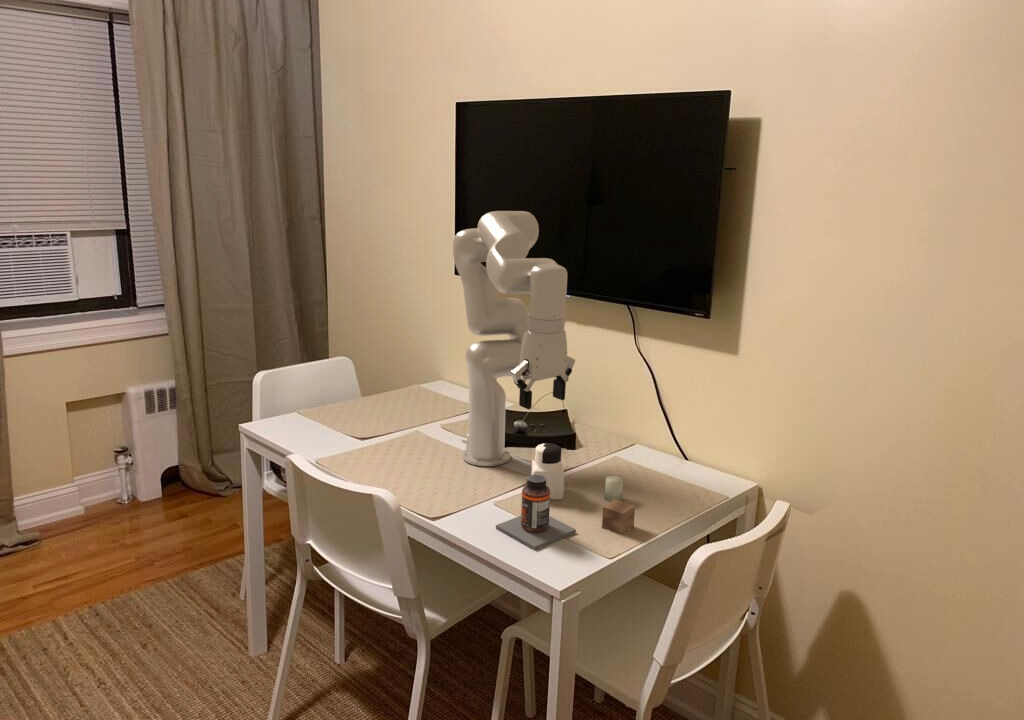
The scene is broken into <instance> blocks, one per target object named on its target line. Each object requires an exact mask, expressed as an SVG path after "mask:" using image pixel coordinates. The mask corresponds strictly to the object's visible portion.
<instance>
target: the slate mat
mask: <svg viewBox="0 0 1024 720" xmlns="http://www.w3.org/2000/svg"><path fill="white" fill-rule="evenodd" d="M495 529H496V530H498V531H499V532H501V533H503V534H504V535H506V536H508V537H509V538H512V539H514V540H515V541H517V542H519V543H520V544H523V545H524V546H526V547H527V548H529V549H531V550H533V551H536V550H538V549H540V548H543V547H546V546H547V545H550V544H552V543H555V542H556V541H559V540H562V539H564V538H566V537H569V536H571V535H574V534H576V531H577V530H576V528H574V527H572V526H570V525H568V524H566V523H564V522H563V521H561V520H558V519H557V518H554V517H552V516H550V515H549V526H548V528H547V529H546V530H545V531H543V532H536V533H535V532H529V531H526V530H525V529H523V528H522V526H521V515H519V516H516V517H512V518H511V519H508V520H506V521H503V522H501V523H498V524H495ZM573 533H574V534H573Z"/></svg>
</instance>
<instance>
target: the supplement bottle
mask: <svg viewBox="0 0 1024 720" xmlns="http://www.w3.org/2000/svg"><path fill="white" fill-rule="evenodd" d="M550 505H551V500H550V489H549V487H548V486H546V477H544V476H542V475H537V474H535V475H531V474H530V475H528V476H527V477H526V484H525V485H524V486H523V487H522V489H521V509H520V510H521V511H520V516H521V526H522V528H523V529H525V530H526V531H529V532H535V533H536V532H543V531H545V530H546V529H547V528H548V526H549V516H550V509H551V508H550Z"/></svg>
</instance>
